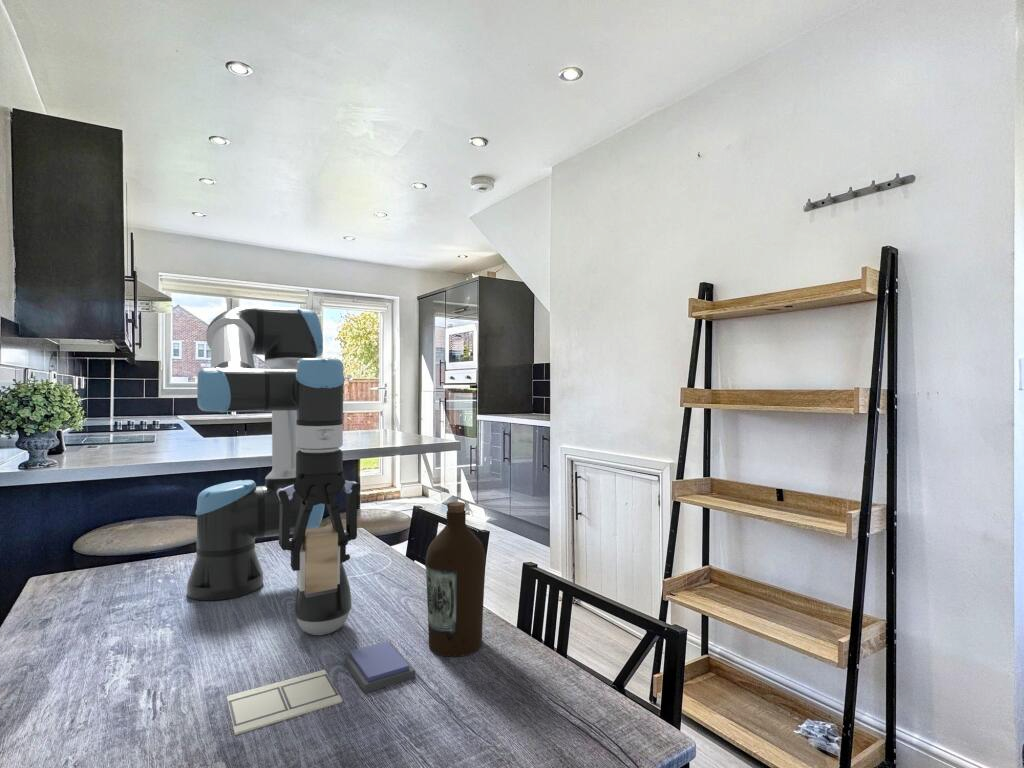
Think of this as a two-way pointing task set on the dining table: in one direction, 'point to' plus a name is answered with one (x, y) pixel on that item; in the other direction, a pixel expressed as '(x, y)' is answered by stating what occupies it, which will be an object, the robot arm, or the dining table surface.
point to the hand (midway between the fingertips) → (318, 584)
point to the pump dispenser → (324, 608)
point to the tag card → (281, 701)
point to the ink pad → (378, 666)
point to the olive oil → (455, 587)
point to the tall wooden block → (320, 561)
